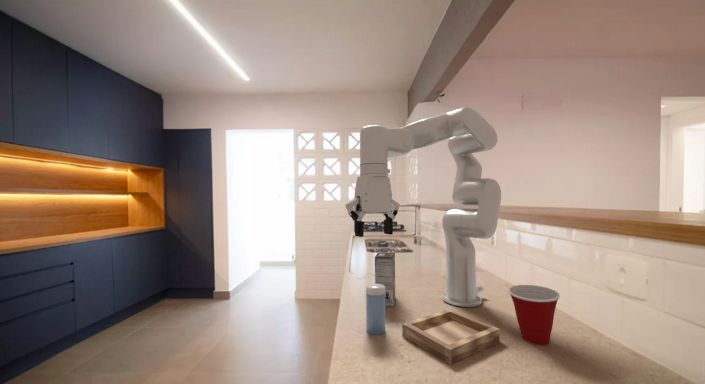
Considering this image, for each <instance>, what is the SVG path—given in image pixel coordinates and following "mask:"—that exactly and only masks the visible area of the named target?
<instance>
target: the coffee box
mask: <svg viewBox="0 0 705 384" xmlns="http://www.w3.org/2000/svg"><path fill="white" fill-rule="evenodd" d="M395 255H396V253H395V252H386V251H385V252H383V251H381V252H380V251H378V252H377V253H376V254H375V256H374V284H382V285H384V286H385V307H386V306H387V307H388V306H389V307H394V306H395V302H396V258H395V257H396V256H395Z"/></svg>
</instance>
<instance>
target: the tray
mask: <svg viewBox="0 0 705 384" xmlns="http://www.w3.org/2000/svg"><path fill="white" fill-rule="evenodd" d="M401 324H402V325H401V326H402V327H401V329H402V330H401V332H402V336H403V337H404V338H406V339H407V340H409V341H411V342H412V343H414V344H415V345H418V346H419V347H421V348H422V349H425V350H426V351H427V352H430V353H431V354H433V355H434V356H436V357H438V358H439V359H441V360H443V361H444V362H446V363H447V364H449V365H452V364H454V363H457V362H459V361H461V360H463V359H465V358H468V357H470V356H471V355H474V354H476V353H478V352H481V351H482V350H485V349H487V348H489V347H491V346H493V345H495V344H498V343H500V341H501V337H500V336H501V333H500V328H498V327H496V326H494V325H491V324H488V323H486V322H483V321H481V320H478V319H476V318H473V317H471V316H467V315H465V314H463V313H460V312H458V311H455V310H453V309H450V308H449V309H446V310H445V309H444V310H441V311H439V312H436V313H432V314H429V315H426V316H423V317H419V318H416V319H413V320H410V321H406V322H403V323H401Z"/></svg>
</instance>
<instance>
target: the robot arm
mask: <svg viewBox="0 0 705 384" xmlns="http://www.w3.org/2000/svg"><path fill="white" fill-rule="evenodd" d="M445 140H447V146H448V147H447V148H448V150H449V152H450V154H451V155H452V157H453V159H454V161H455V163H456V173H455V177H454V184H453V187H452V188H453V189H452V202H453V203H454V204H455V205H457V206H460V207H477V208H452V209H449V210H447V211H446V212H445V213H444V214H443V215H442V221H441V223H442V229H443V233H444V239H445V240H444V241H445V265H446V266H445V269H446V270H445V271H446V274H445V276H446V292H444V293H443V294H441V295H442V296H441V299H442V300H443V301H444V302H445V303H447V304H450V305H452V306H456V307H462V308H463V307H464V308H473V307H474V308H475V307H478V306H481V305H482V304H483V303H482V297H480V296H478V294H479V293H481V292H483V291H484V287H483V286H482V285H478V286H477V270H476V267H477V266H476V247H475V246H474V244H473V242H472V240H471V238H472V239H483V240H488V239H490V238H492V237H493V236H494V235H495V234H496V230H497V227H498V222H499V221H498V220H499V215H500V210H501V209H500V208H501V202H502V190H501V186H500V184H499V182H498V181H497V180H496V179H493V178H489V177H488V178H487V177H483V178H482V175H483V174H482V172H483V167H482V164H481V163H480V161H479V160H478V159H477V158H476V157H475V155H474V153H481V152H486V151H490V150H493V149H494V148H495V147H496V146H497V144H498V143H497V142H498V133H497V131H496V129H495V127H493V125H492V124H490V123H489V122H488V120H486V118H484V116H483V115H481V114H480V113H479V112H478V111H476V110H475V109H473V108H472V107H469V106H464V107H460V108H457V109H455V110H451V111H447V112H444V113H441V114H439V115H434V116H431V117H427V118H423V119H420V120H418V121H414V122H412V123H409V124H407V125H405V126H403V127H385V126H382V125H378V124H374V125H373V124H371V125H367V126H363V127H362V128H361V129H360V132H359V167H360V168H359V176H356V177H357V178H356V182H355V188H354V198H353V199H352V200H350V201H349V202H347V203H346V204H345V205H344V206H345V209H346V211H347V212H348V213H347V214H348V215H349V217H350V218H351V219H352V221H353V225H354V226H353V227H354V228H353V231H354V236H355V237H360V238H361V237H362V238H363V237H364V234H365V233H364V232H365V231H364V226H365V225H364V223H365V222H364V221H363V218H364V217H365V216H366V214H371V215H372V214H382V215H383V217H384V219H383V234H385V235H389V236H390V235H393V233H394V220H395V219H396V216H397V215H398V211H399V209H400V207H401V205H400V203H398V202H397V201H396V200H394V199H393V193H392V185H391V179H390V177H389V174H390V173H391V169H390V168H388V167H389V165H388V163H389V162H388V158H389V159H390V158H394V157H398V156H404V155H406V154H409V153H411V151H413V150H417V149H422V148H427V147H429V146H432V145H435V144H438V143H439V142H442V141H445Z"/></svg>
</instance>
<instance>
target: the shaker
mask: <svg viewBox="0 0 705 384" xmlns="http://www.w3.org/2000/svg"><path fill="white" fill-rule="evenodd" d="M365 298H366V300H365V302H366V303H365V305H366V306H365V308H366V311H365V312H366V313H365V314H366V316H365V317H366V322H365V323H366V332H367V334H370V335H373V336H380V335H383V334H384V333H386V306H385V286H384V285H382V284H375V283H369V284H366V285H365Z"/></svg>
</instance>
